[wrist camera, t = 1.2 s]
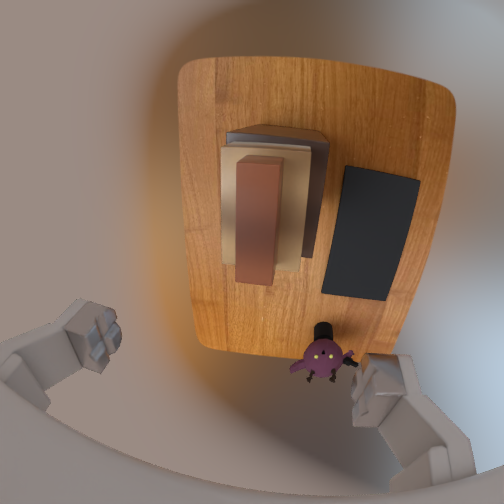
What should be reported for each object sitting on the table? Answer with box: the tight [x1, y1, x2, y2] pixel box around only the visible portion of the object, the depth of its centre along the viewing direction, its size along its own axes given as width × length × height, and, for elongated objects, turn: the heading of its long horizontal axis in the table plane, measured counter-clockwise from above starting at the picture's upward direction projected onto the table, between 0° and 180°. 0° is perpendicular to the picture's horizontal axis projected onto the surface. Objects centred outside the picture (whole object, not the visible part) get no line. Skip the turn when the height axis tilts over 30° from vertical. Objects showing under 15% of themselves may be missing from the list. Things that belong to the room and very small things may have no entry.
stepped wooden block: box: [221, 141, 311, 286], centre depth 20 cm, size 9×6×6 cm, turn 178°
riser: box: [226, 124, 330, 258], centre depth 30 cm, size 10×8×16 cm
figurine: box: [290, 322, 358, 383], centre depth 43 cm, size 8×8×12 cm
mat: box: [321, 165, 420, 301], centre depth 39 cm, size 20×11×1 cm, turn 176°
